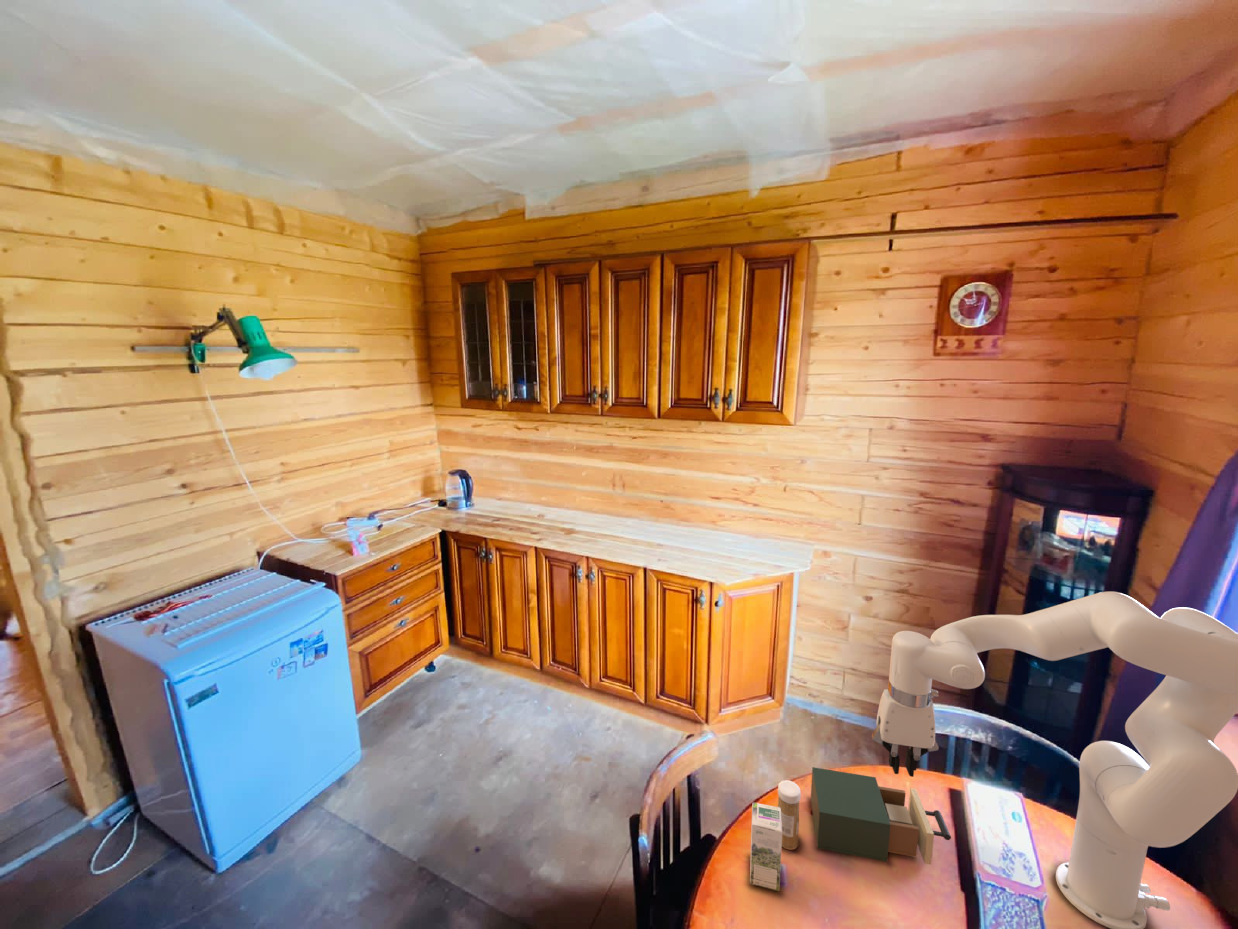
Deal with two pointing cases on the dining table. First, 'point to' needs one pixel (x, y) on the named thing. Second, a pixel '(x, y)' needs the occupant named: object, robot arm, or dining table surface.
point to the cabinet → (849, 814)
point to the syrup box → (766, 846)
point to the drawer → (913, 826)
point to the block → (898, 814)
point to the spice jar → (789, 812)
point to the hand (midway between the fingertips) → (901, 769)
